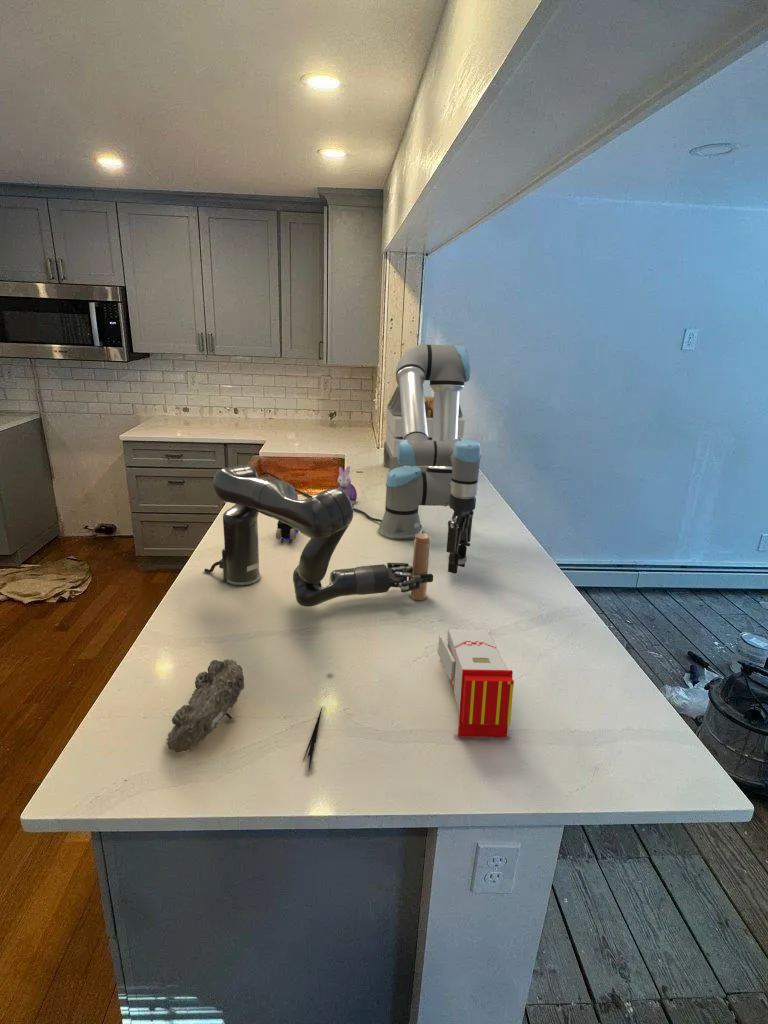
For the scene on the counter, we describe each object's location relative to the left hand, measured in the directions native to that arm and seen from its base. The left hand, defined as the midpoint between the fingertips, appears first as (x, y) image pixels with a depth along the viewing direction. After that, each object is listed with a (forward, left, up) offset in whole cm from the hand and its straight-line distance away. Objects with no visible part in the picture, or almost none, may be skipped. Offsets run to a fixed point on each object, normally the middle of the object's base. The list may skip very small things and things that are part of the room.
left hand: (428, 573), depth 156 cm
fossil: (-38, -58, -7) cm, 69 cm away
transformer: (-11, +124, -7) cm, 125 cm away
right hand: (+8, +15, -5) cm, 17 cm away
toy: (+11, -41, -7) cm, 43 cm away
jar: (-2, -1, -7) cm, 7 cm away
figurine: (-37, +71, -7) cm, 81 cm away
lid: (+8, +15, -1) cm, 17 cm away
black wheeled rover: (-49, +31, -7) cm, 58 cm away
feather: (-17, -55, -7) cm, 58 cm away
